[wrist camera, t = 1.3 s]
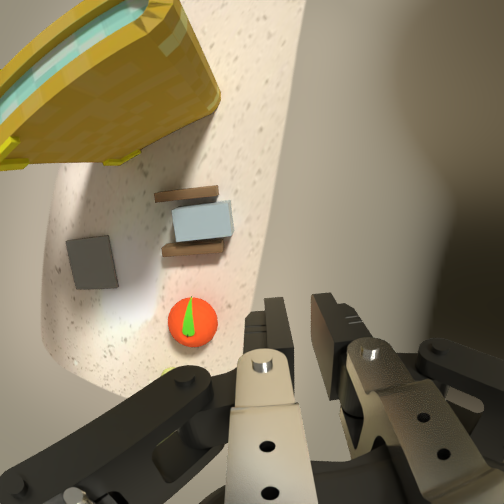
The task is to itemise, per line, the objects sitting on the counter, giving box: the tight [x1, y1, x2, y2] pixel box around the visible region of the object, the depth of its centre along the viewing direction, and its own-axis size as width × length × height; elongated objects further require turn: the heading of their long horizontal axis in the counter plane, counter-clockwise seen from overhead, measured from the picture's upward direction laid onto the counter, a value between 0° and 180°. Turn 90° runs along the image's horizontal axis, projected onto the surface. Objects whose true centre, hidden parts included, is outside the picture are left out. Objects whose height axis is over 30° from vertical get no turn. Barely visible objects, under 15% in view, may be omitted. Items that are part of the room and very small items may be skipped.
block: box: [172, 200, 234, 242], centre depth 38 cm, size 4×7×4 cm, turn 96°
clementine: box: [168, 296, 218, 347], centre depth 40 cm, size 8×7×7 cm
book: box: [0, 0, 221, 171], centre depth 24 cm, size 17×7×25 cm, turn 113°
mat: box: [66, 236, 119, 289], centre depth 41 cm, size 8×8×1 cm
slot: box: [154, 185, 224, 257], centre depth 38 cm, size 8×8×2 cm
